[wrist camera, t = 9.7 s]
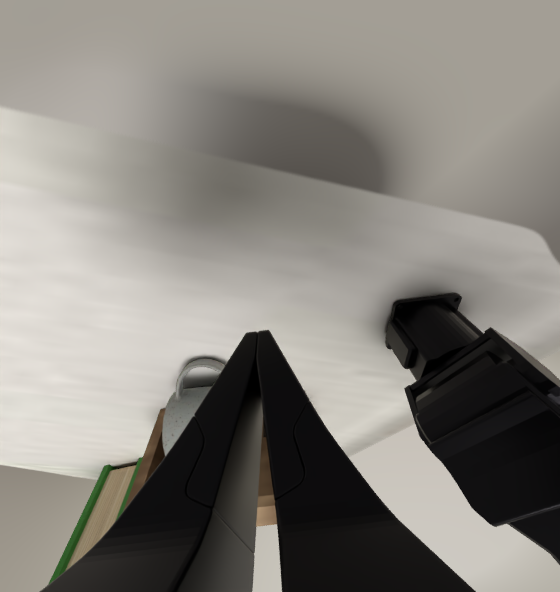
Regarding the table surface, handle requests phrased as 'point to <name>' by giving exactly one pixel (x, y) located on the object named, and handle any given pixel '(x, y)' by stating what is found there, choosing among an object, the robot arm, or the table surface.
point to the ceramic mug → (184, 404)
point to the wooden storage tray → (156, 455)
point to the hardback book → (99, 513)
